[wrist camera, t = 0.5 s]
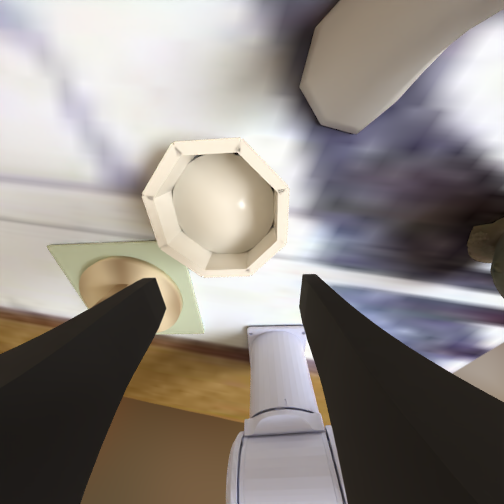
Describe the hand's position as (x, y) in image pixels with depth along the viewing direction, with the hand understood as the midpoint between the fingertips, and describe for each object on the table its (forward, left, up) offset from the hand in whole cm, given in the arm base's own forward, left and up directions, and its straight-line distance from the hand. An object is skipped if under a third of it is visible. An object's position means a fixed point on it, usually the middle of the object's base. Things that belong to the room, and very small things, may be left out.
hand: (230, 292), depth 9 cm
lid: (-8, +14, -9) cm, 19 cm away
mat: (-8, +14, -10) cm, 19 cm away
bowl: (+2, +2, -10) cm, 10 cm away
